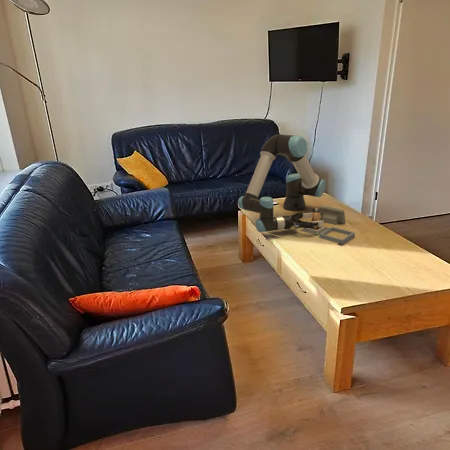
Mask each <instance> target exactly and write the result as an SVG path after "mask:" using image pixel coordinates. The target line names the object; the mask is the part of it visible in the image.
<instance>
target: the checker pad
mask: <svg viewBox="0 0 450 450" xmlns="http://www.w3.org/2000/svg"><path fill="white" fill-rule="evenodd" d="M329 228H330V227H327V226H324V225H322V226H319V230H313V229H311V228H301V229H300V230H299V231H300V232H304V233H306V234H307V233H308V234H310V235H314V236H319V234H321V233H322V232H324V231H326V230H327V229H329Z"/></svg>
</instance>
